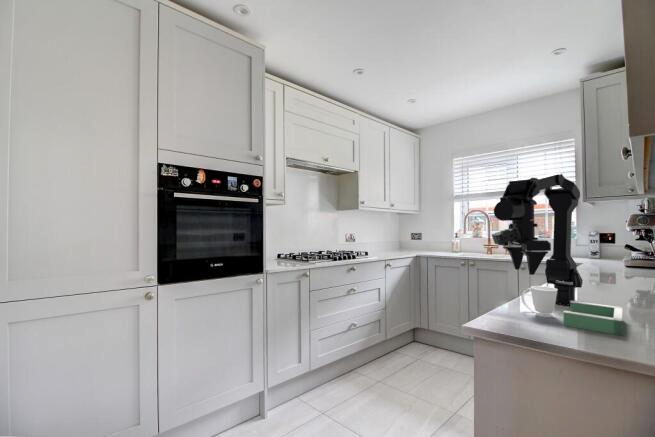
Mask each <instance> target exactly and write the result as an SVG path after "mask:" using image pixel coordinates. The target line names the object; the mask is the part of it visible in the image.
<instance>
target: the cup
mask: <svg viewBox="0 0 655 437" xmlns="http://www.w3.org/2000/svg"><path fill="white" fill-rule="evenodd" d="M557 290H558V289H556V288H554V287H551V286H546V285H545V286H543V285H532V286H530V288H525V289H524V290H523V291H522V292H521V298H520V299H521V302H522V304H523V305H524V306H525V307H526V308H527V309H528V310H529V311H530V312H532V313H533V314H535V315H536V316H538V317H542V316H543V317H542V318H553V313H554V310H555V306H556V303H555V302H556V296H557ZM526 291H530V292H531V298H532V304H533V306H534V309H532V307H530V306H529V305H528V304H527V303H526V300H525V293H526Z"/></svg>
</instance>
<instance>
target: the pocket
mask: <svg viewBox="0 0 655 437" xmlns="http://www.w3.org/2000/svg"><path fill="white" fill-rule="evenodd" d="M569 306H570V307H569V308H570V310H563V326H566V327H572V328H576V329H577V328H578V329H583V330H589V331H593V332H599V333H605V334H610V335H611V334H612V335H617V336H622V335H623V307H622V306H615V305H614V306H613V305H607V304H599V303H594V302H593V303H591V302H584V301H578V300H575V301H570V305H569Z"/></svg>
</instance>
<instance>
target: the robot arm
mask: <svg viewBox="0 0 655 437" xmlns="http://www.w3.org/2000/svg"><path fill="white" fill-rule="evenodd" d="M542 190H544V192H543V194H544V196H545V198H546V199H547V200H548V206H549V207H550V208H551V210H552V211H553V216H554V217H553V240H552V241H553V243H551V242H549V240H546V239H539V238H538V237H537V236H536V234H535V233H536V232H535V228H538V226H539V225H538V223H537V222H536V223H535V206H536V205H538V203H537V201H536V200H534V199H533V198H534V197H536V196H537V195H539V194H540V193H541V192H540V191H542ZM503 192H504V193H503V195H502V197H500V198H499V199H500V201H499V202H497V203H496V205H495V206H494V208H493V214H494V216H495V219H497V220H499V221H502V222H503V221H504V222H507V221H510V222H511V223H509V224H508V228H505V229H504V230H500V231H498V232H495V233H492V234H491V237H492V239H493V242H494V244H495V245H498V246H502V248H504V249H505V250H506V251H507V252H508V253H509V256H510V259H511V261H512V264H513V267H514V270H516V271H517V270H520V268H521V265H522V262H523V259H524V256H526V263H527V269H528V272H529V275H530V276H531V275H533V276H534V275H535V274H536V272H537V270H538V268H539V266H540V265H541V263H542V261H543V260H544V258H545V256H546V255H547V254H548V253H549V251H550V252H551V251H552V255H551V256H550V258H547V259H546V261H545V269H544V270H545V271H544V272H545V273H544V274H545V278H546V283H547V284H549V285H550V284H551V285H553V288H556V289H558V290H557V296H556V302H555V305H563V306H570V301H576V288H578V289H579V288H580V289H581V288H582V287H583V278H582V277H581V275H580V273H579V270H578V269H577V268H578V267H577V263H576V261H575V260H574V259H573V257H572V256H571V253H572V252H571V250H572V246H571V245H572V221H573V220H572V216H573V215H572V214H573V212H574V211H575V209H576V208H577V207H578V206H579V199H580V197H581V191H580V189H579V187H578V186H577V184H576V183H575V182H574V181H571V180H569V179H568V178H566V177H565V176H564V175H563V174H562V173H548V174H545V175H542V176H539V177H525V178H515V179H511V180H509V181H508V184H507V186H506V188H505V190H504V191H503ZM552 244H553V247H552Z"/></svg>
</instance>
